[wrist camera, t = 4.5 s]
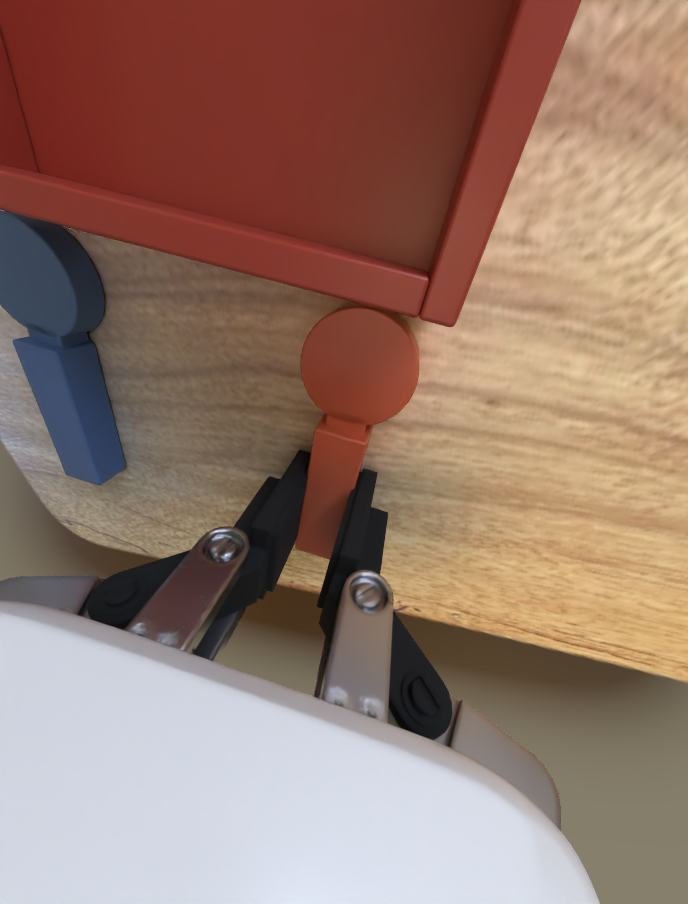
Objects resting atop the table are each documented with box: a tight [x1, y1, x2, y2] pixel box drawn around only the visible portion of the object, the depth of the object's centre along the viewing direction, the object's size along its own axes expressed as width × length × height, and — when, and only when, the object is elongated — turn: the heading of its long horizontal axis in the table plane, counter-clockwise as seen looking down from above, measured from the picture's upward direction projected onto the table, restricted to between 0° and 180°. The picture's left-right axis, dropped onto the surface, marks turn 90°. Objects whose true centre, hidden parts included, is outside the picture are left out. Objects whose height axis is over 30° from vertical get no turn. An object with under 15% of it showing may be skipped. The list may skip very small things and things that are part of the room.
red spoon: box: [295, 303, 419, 559], centre depth 10 cm, size 9×3×1 cm, turn 168°
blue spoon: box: [0, 211, 126, 485], centre depth 11 cm, size 9×3×1 cm, turn 168°
